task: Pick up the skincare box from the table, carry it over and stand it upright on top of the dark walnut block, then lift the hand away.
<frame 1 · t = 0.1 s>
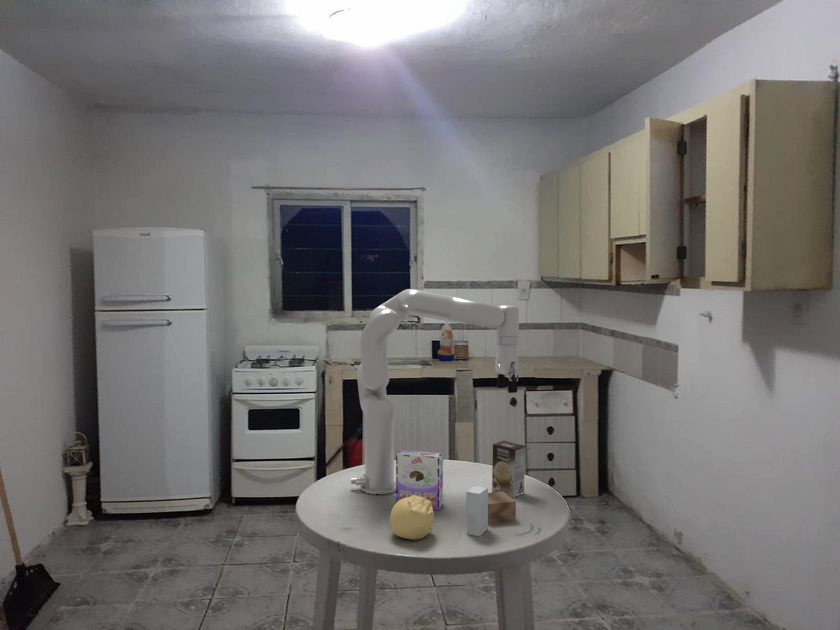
hand: (506, 390, 226), 31 cm above the table, tool pointing down, fingers open, 9 cm apart
skincare box: (476, 532, 180), on the table
candy box: (419, 505, 201), on the table
walnut block: (495, 517, 191), on the table
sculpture: (412, 536, 178), on the table
coffee box: (508, 493, 213), on the table
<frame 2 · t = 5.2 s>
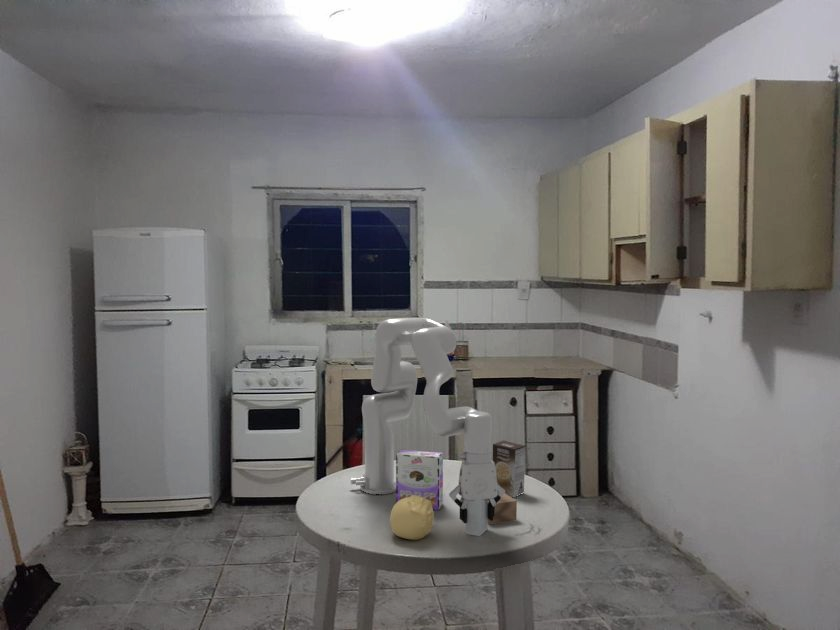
hand: (477, 519, 180), 3 cm above the table, tool pointing down, fingers closed on skincare box, 7 cm apart
skincare box: (476, 532, 180), on the table, touching gripper
everything else where it was.
when the fingers open (11 cm above the table, at t = 11.5 s): skincare box drops 2 cm, resting on walnut block.
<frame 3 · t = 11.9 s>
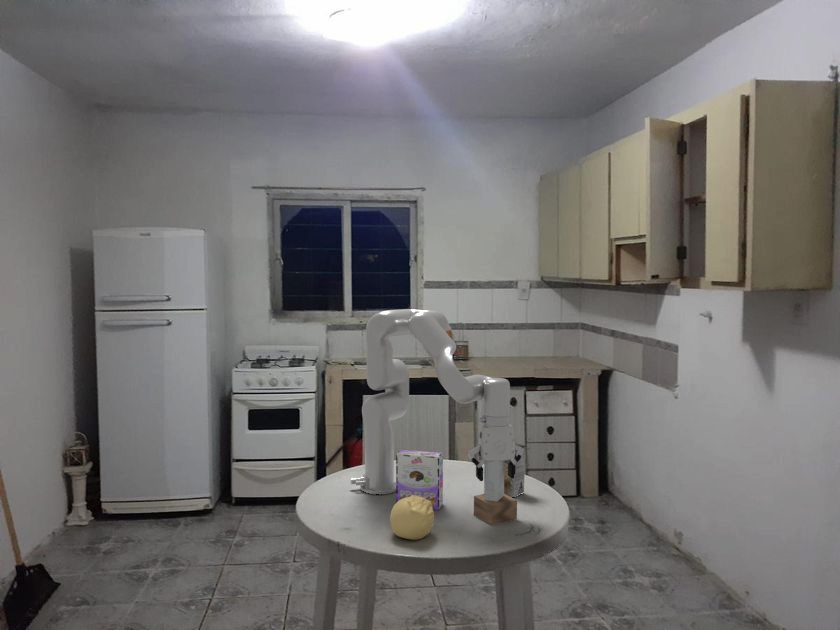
hand: (495, 478, 191), 11 cm above the table, tool pointing down, fingers open, 9 cm apart
skincare box: (493, 498, 191), point 5 cm above the table, touching walnut block
walnut block: (495, 518, 191), on the table, touching skincare box
everything else where it was.
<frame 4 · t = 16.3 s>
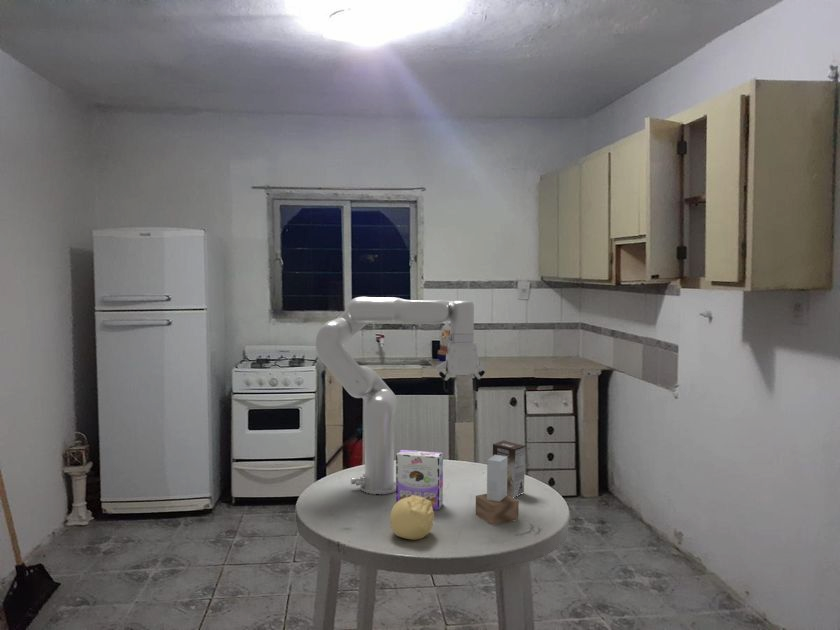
hand: (461, 391, 211), 33 cm above the table, tool pointing down, fingers open, 9 cm apart
nothing on the table moved.
at the end: skincare box inside the target area on the walnut block (0.1 cm from its centre), point 5.8 cm above the walnut block's base; skincare box tilted 1°; the gripper is holding nothing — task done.
